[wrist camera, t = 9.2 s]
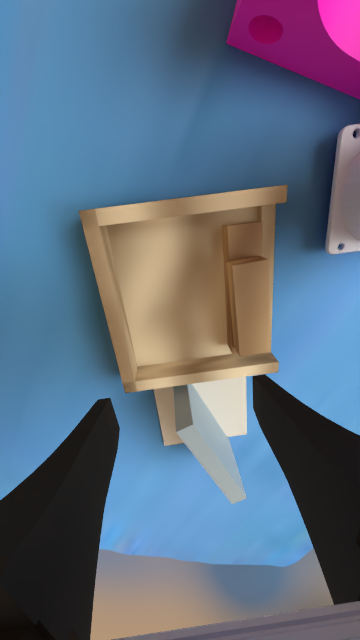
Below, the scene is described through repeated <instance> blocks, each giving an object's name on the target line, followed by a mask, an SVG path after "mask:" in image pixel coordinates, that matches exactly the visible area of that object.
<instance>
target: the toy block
mask: <svg viewBox="0 0 360 640" xmlns="http://www.w3.org/2000/svg"><path fill="white" fill-rule="evenodd" d="M226 44H229V45H231V46H233V47H236V48H238V49H241V50H243V51H245V52H248V53H250V54H252V55H255V56H257V57H260V58H262V59H264V60H267V61H269V62H272V63H274V64H276V65H279V66H281V67H283V68H286V69H288V70H291V71H293V72H295V73H298V74H300V75H303V76H305V77H307V78H310V79H312V80H314V81H317V82H319V83H322V84H324V85H326V86H329V87H331V88H334V89H336V90H338V91H341V92H343V93H345V94H348V95H350V96H353V97H355V98H357V99H360V0H237V2H236V6H235V10H234V14H233V18H232V22H231V26H230V30H229V34H228V39H227V43H226Z"/></svg>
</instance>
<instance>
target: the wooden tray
mask: <svg viewBox="0 0 360 640" xmlns="http://www.w3.org/2000/svg"><path fill="white" fill-rule="evenodd" d="M286 202H287V185H281V186H273V187H265V188H257V189H249V190H241V191H233V192H225V193H217V194H209V195H201V196H193V197H185V198H177V199H169V200H161V201H153V202H145V203H137V204H129V205H121V206H113V207H105V208H97V209H89V210H81V211H79V214H80V218H81V222H82V226H83V230H84V234H85V238H86V242H87V245H88V249H89V253H90V257H91V261H92V265H93V269H94V273H95V277H96V281H97V285H98V288H99V292H100V296H101V300H102V304H103V308H104V312H105V316H106V320H107V324H108V328H109V332H110V335H111V339H112V343H113V347H114V351H115V355H116V359H117V363H118V367H119V371H120V375H121V379H122V382H123V386H124V390H125V393H129V392H136V391H143V390H151V389H158V388H165V387H172V386H180V385H187V384H194V383H202V382H209V381H216V380H223V379H231V378H238V377H245V376H252V375H260V374H267V373H274V372H278V365H279V362H278V361H277V359H276V358H275V357H274V356H273V354H272V353H271V351H270V352H265V353H259V354H254V355H248V356H243V357H240V356H239V354H238V353H235V354H232V352H231V350H230V348H229V347H228V343H227V321H226V299H225V277H224V255H223V233H222V226H223V225H231V224H239V223H247V222H254V221H255V222H263V231H262V257H264V258H267V259H269V294H270V334H271V330H272V301H273V271H274V242H275V213H276V204H278V203H286Z"/></svg>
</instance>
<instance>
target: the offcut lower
mask: <svg viewBox="0 0 360 640" xmlns="http://www.w3.org/2000/svg"><path fill="white" fill-rule="evenodd" d="M262 231H263V222H255V221H254V222H247V223H239V224H231V225H223V226H222V233H223V255H224V277H225V299H226V321H227V343H228V347H229V348H230V350H231V352H232V354H235V353H237V351H236V349H235V347H234V339H233V328H232V317H231V307H230V296H229V285H228V275H227V264H226V262H229V261H234V260H240V259H245V258H250V257H256V256H261V257H262Z"/></svg>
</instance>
